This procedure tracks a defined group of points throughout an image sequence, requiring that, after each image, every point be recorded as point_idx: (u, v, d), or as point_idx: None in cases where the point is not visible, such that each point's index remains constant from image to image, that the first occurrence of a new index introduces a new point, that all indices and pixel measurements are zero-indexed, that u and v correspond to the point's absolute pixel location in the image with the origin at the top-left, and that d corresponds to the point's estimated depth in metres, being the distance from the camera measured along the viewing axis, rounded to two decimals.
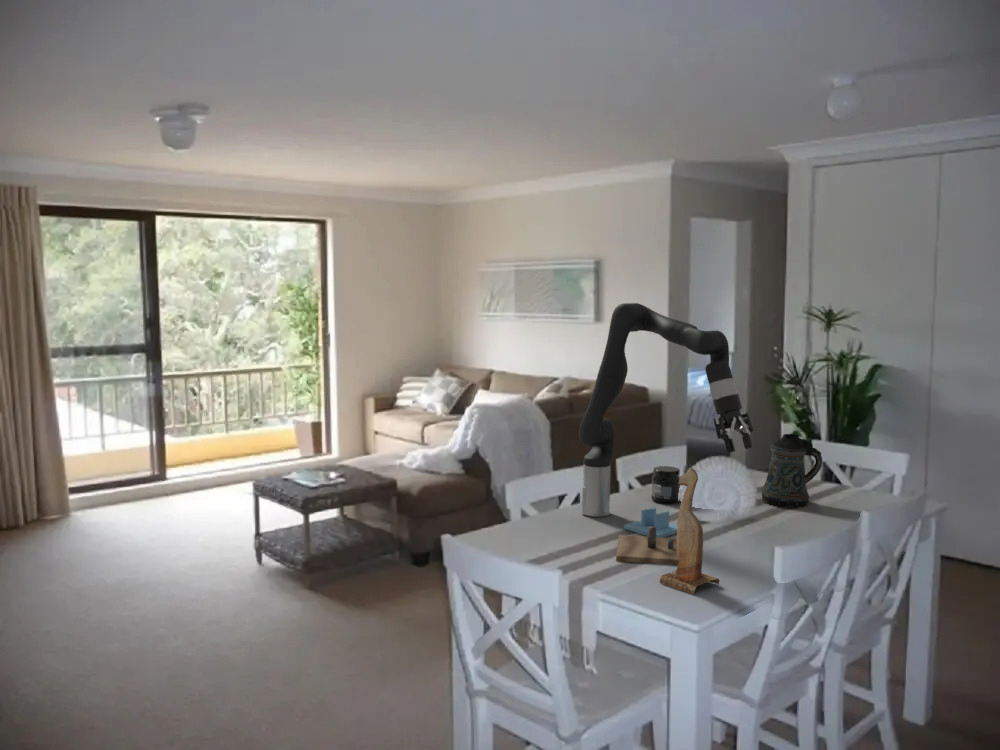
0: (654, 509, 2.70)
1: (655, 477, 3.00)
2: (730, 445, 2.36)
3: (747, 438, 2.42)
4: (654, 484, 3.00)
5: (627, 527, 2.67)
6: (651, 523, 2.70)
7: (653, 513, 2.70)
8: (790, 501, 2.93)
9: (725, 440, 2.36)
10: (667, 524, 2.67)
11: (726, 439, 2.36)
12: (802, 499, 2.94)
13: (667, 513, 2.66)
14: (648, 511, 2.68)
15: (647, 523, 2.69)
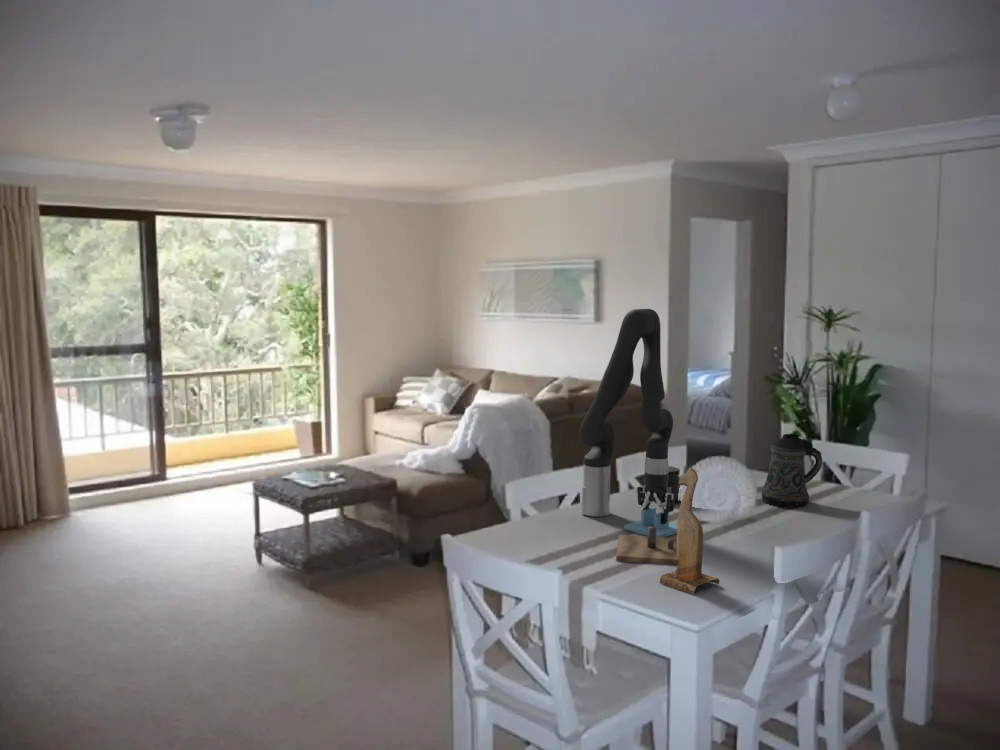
0: (654, 509, 2.70)
1: None
2: None
3: None
4: None
5: (627, 527, 2.67)
6: (651, 523, 2.70)
7: (653, 513, 2.70)
8: (790, 501, 2.93)
9: (666, 513, 2.63)
10: (667, 524, 2.67)
11: (667, 513, 2.64)
12: (802, 499, 2.94)
13: None
14: (648, 511, 2.68)
15: (647, 523, 2.69)
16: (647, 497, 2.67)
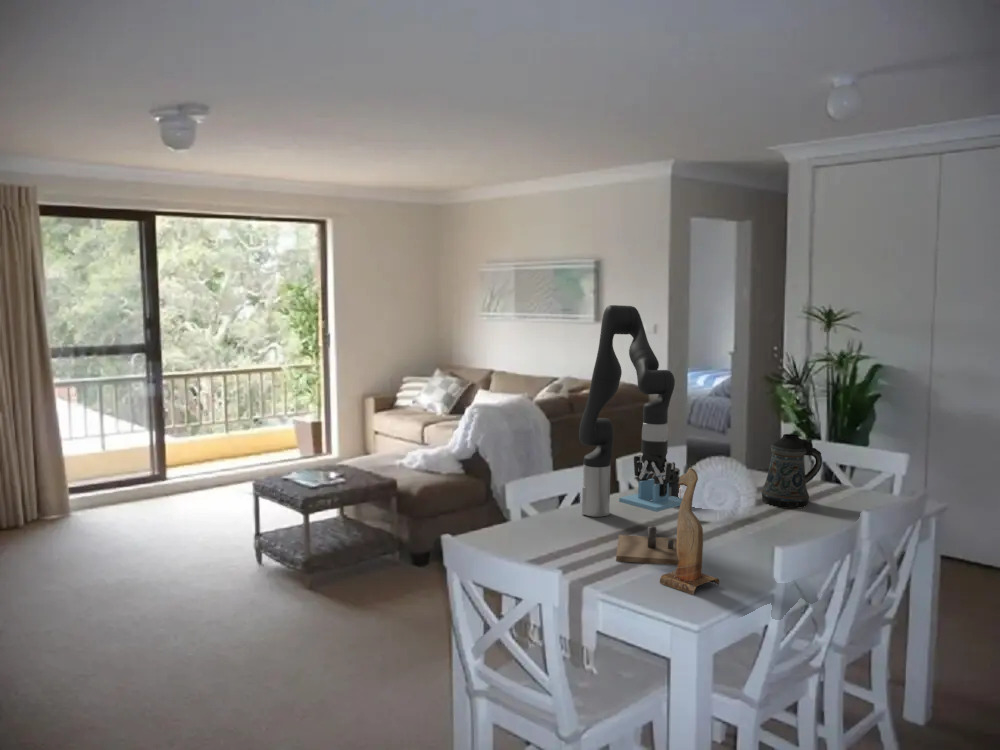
0: (652, 480, 2.46)
1: (655, 477, 3.00)
2: None
3: None
4: (654, 484, 3.00)
5: (623, 500, 2.44)
6: (649, 495, 2.46)
7: (651, 485, 2.46)
8: (790, 501, 2.93)
9: (665, 484, 2.40)
10: (666, 496, 2.43)
11: (666, 484, 2.40)
12: (802, 499, 2.94)
13: None
14: (646, 482, 2.44)
15: (644, 496, 2.45)
16: (644, 467, 2.43)
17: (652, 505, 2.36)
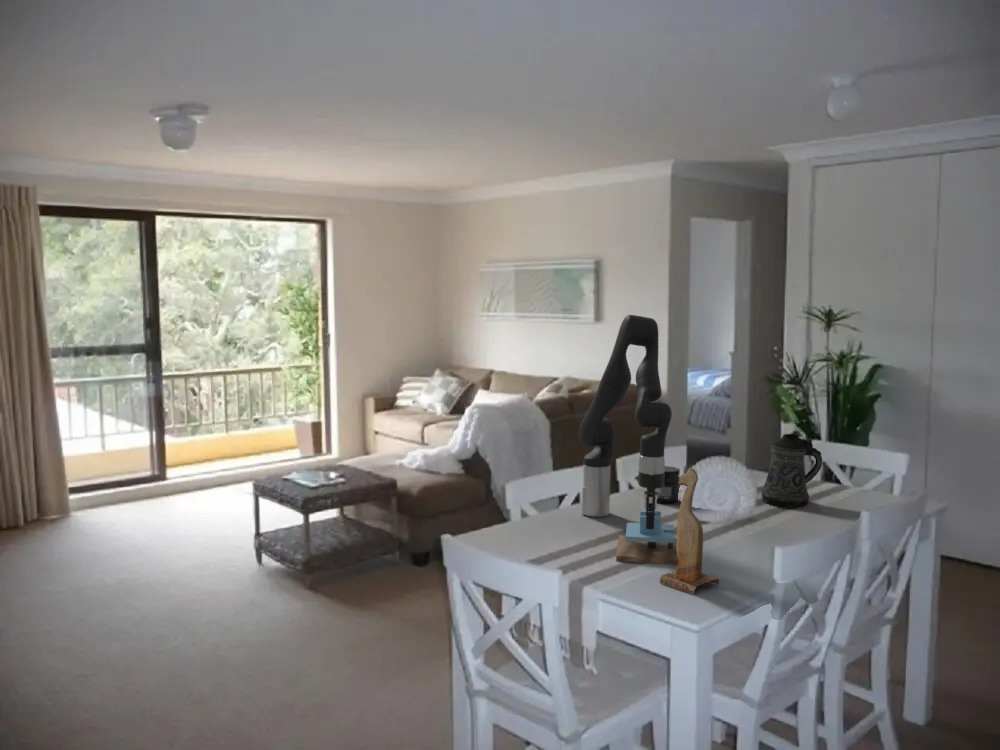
0: (658, 513, 2.46)
1: None
2: (652, 523, 2.40)
3: None
4: None
5: None
6: None
7: None
8: (790, 501, 2.93)
9: (649, 518, 2.40)
10: (658, 531, 2.41)
11: (651, 517, 2.39)
12: (802, 499, 2.94)
13: (658, 519, 2.41)
14: None
15: None
16: None
17: (629, 534, 2.41)
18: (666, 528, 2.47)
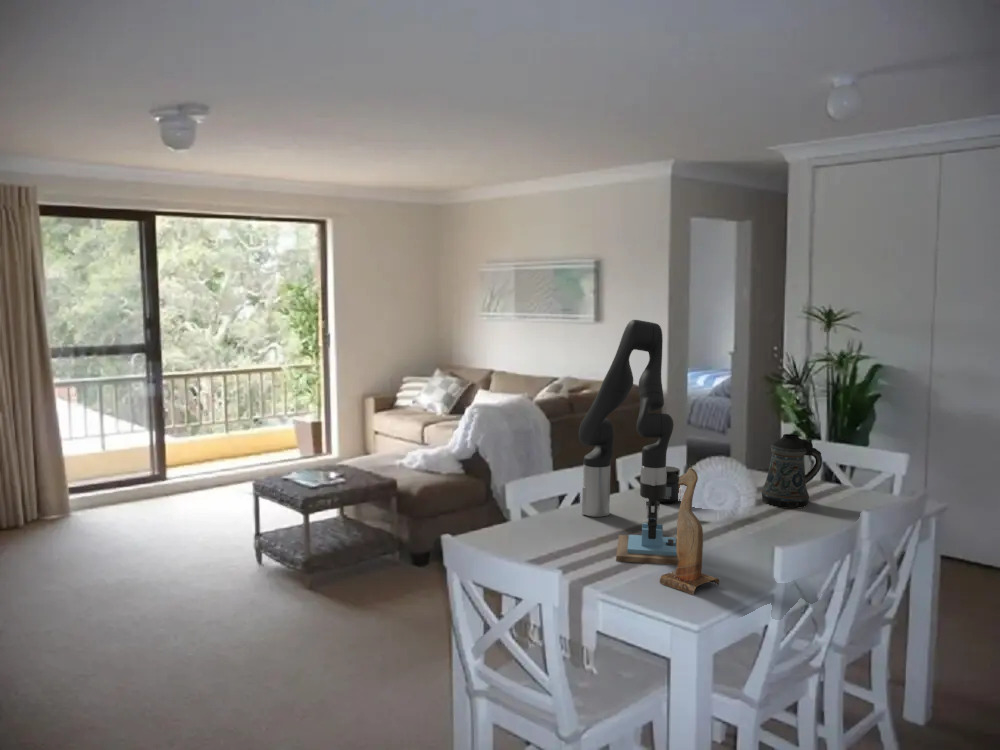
0: (660, 526, 2.46)
1: None
2: (654, 533, 2.40)
3: (654, 521, 2.48)
4: None
5: None
6: None
7: None
8: (790, 501, 2.93)
9: (651, 527, 2.39)
10: (660, 544, 2.42)
11: (653, 527, 2.39)
12: (802, 499, 2.94)
13: (659, 532, 2.41)
14: None
15: None
16: None
17: (631, 546, 2.42)
18: None
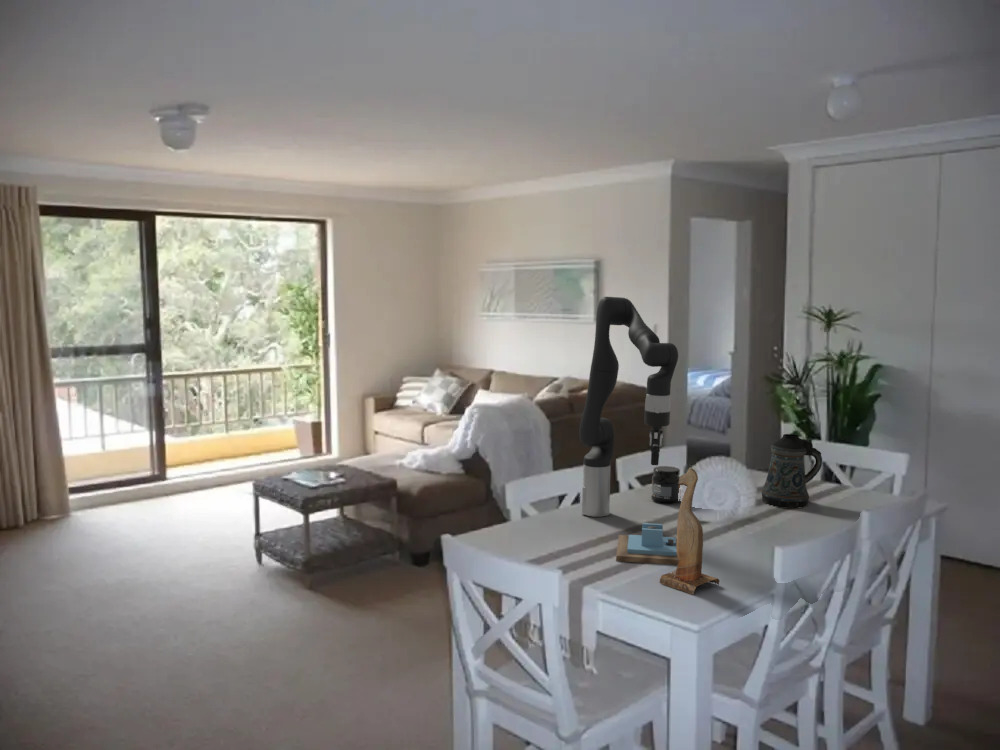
0: (660, 526, 2.46)
1: (655, 477, 3.00)
2: (657, 459, 2.46)
3: None
4: (654, 484, 3.00)
5: None
6: None
7: None
8: (790, 501, 2.93)
9: (654, 454, 2.45)
10: (660, 544, 2.42)
11: (656, 453, 2.45)
12: (802, 499, 2.94)
13: (659, 532, 2.41)
14: None
15: None
16: None
17: (631, 546, 2.42)
18: None
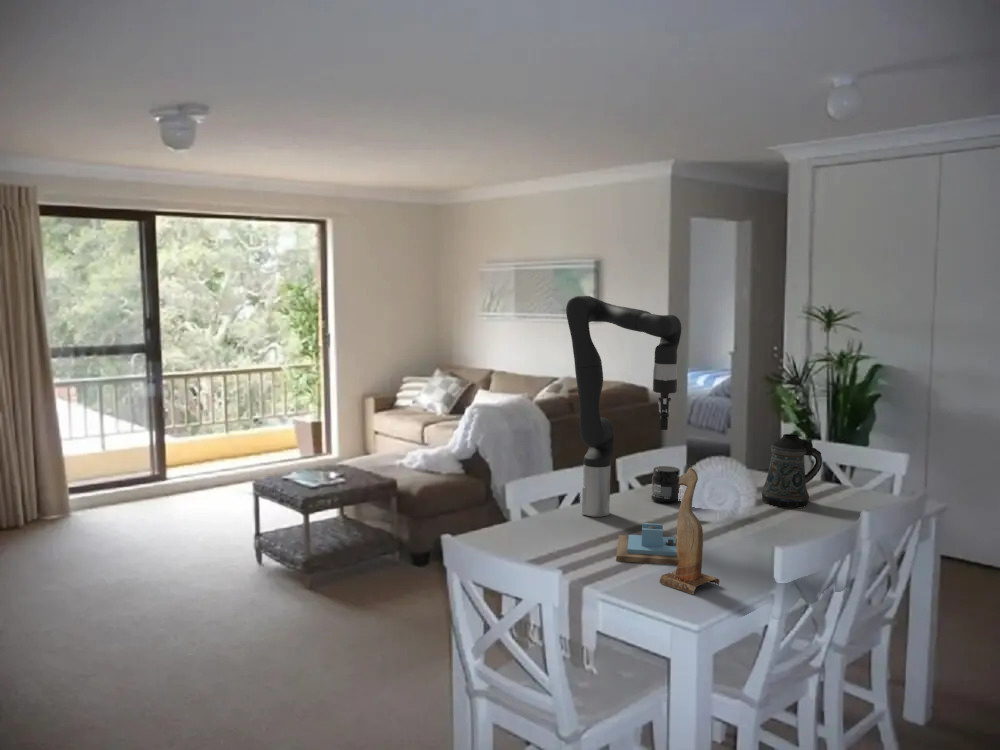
0: (660, 526, 2.46)
1: (655, 477, 3.00)
2: (666, 424, 2.62)
3: None
4: (654, 484, 3.00)
5: None
6: None
7: None
8: (790, 501, 2.93)
9: (663, 419, 2.61)
10: (660, 544, 2.42)
11: (665, 418, 2.61)
12: (802, 499, 2.94)
13: (659, 532, 2.41)
14: None
15: None
16: None
17: (631, 546, 2.42)
18: None
